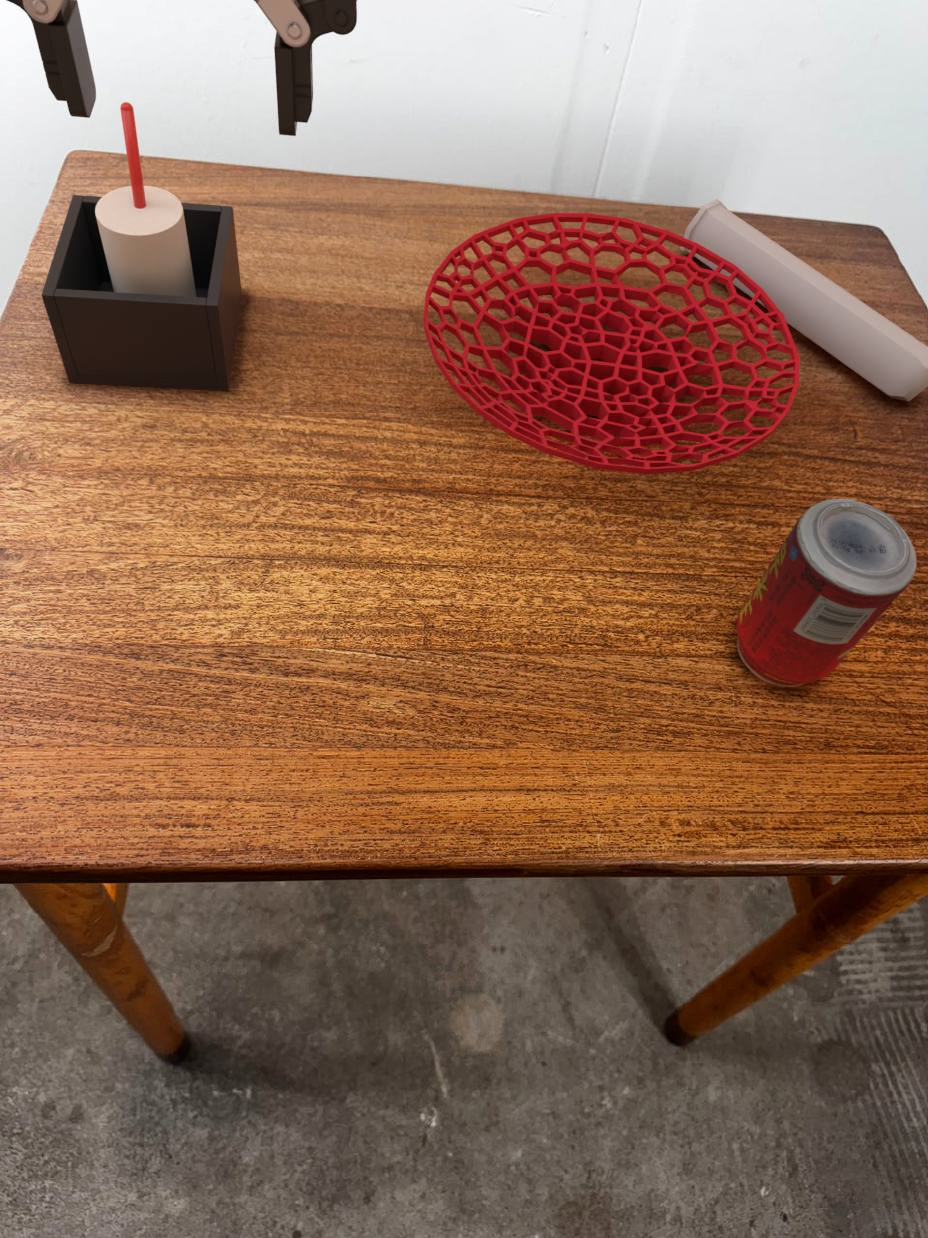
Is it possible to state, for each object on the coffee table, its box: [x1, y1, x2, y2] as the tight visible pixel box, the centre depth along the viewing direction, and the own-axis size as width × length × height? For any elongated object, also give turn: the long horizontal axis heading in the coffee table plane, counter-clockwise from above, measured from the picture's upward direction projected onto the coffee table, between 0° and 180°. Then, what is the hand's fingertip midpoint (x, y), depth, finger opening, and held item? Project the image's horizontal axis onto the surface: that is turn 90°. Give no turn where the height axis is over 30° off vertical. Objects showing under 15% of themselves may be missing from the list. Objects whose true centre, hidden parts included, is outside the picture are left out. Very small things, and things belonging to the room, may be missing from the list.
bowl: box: [422, 212, 801, 475], centre depth 73 cm, size 29×30×5 cm
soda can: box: [736, 498, 918, 688], centre depth 57 cm, size 7×7×12 cm
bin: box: [40, 194, 243, 392], centre depth 69 cm, size 12×12×8 cm
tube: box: [679, 198, 928, 402], centre depth 80 cm, size 5×5×25 cm
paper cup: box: [95, 101, 196, 297], centre depth 65 cm, size 6×6×16 cm
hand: (188, 116), depth 40 cm, fingers open, 8 cm apart
